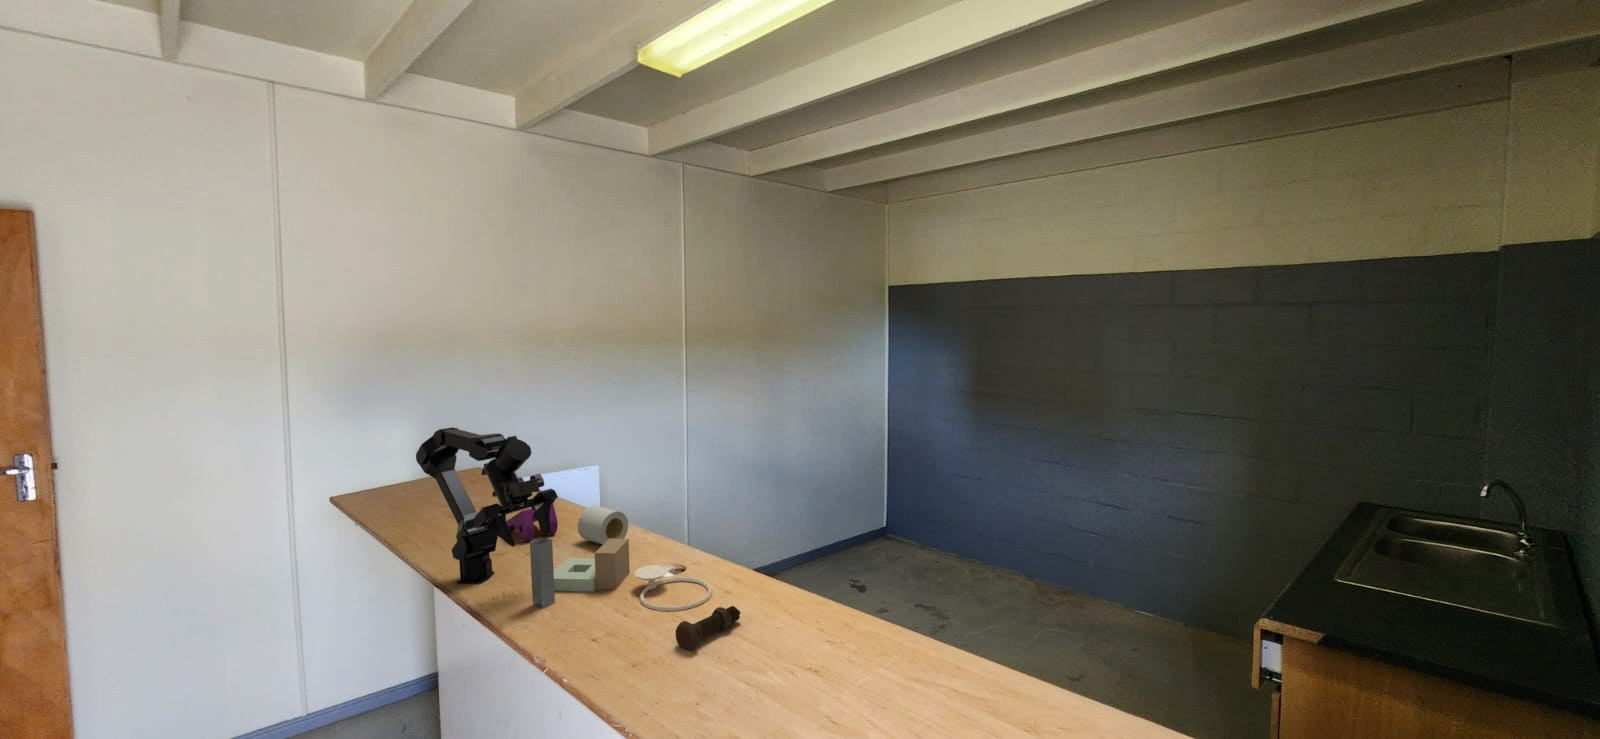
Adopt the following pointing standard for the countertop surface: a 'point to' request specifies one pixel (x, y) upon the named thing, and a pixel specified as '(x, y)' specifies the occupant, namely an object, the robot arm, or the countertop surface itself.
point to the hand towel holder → (658, 572)
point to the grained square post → (542, 572)
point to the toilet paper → (602, 524)
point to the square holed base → (595, 569)
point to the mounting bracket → (530, 523)
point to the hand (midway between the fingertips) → (532, 539)
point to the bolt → (705, 627)
